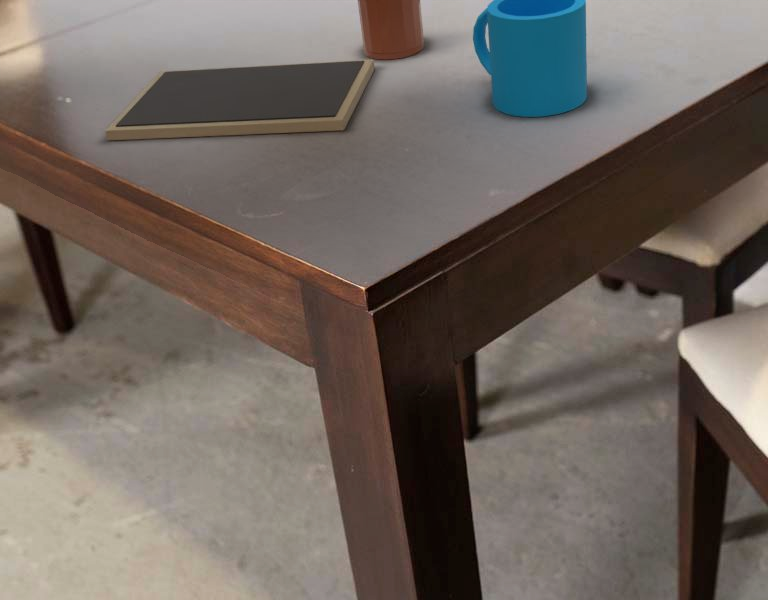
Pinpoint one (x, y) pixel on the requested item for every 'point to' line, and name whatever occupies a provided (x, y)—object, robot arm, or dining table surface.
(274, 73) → the small chalkboard
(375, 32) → the pen cup
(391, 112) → the dining table surface
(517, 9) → the mug
